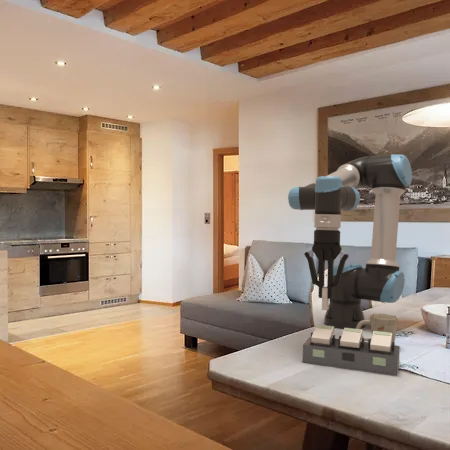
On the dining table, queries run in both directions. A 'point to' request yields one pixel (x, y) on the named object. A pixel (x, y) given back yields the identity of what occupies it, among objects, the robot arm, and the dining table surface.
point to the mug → (381, 324)
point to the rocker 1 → (322, 334)
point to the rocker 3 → (381, 341)
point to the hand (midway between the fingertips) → (325, 309)
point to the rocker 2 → (351, 337)
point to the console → (352, 356)
